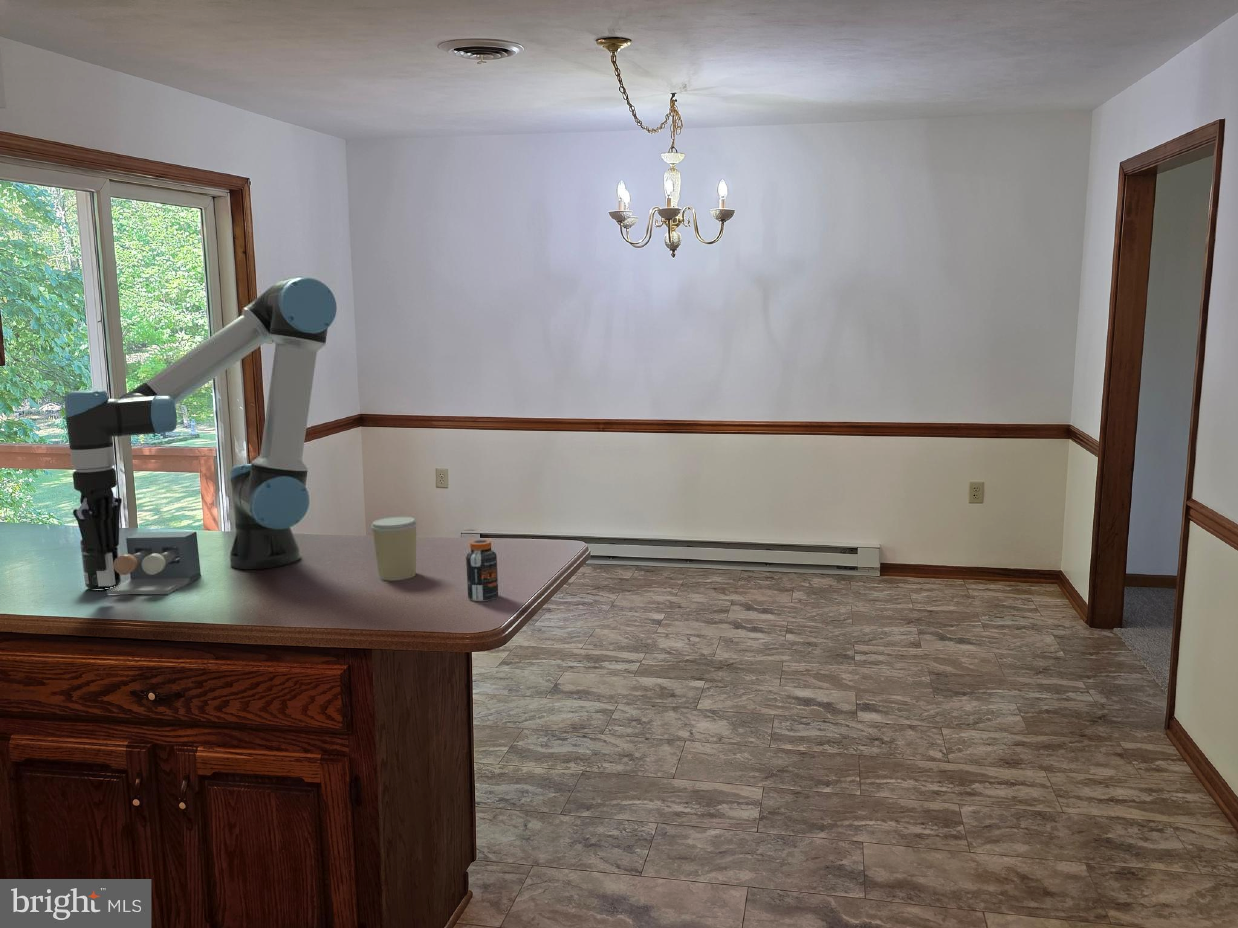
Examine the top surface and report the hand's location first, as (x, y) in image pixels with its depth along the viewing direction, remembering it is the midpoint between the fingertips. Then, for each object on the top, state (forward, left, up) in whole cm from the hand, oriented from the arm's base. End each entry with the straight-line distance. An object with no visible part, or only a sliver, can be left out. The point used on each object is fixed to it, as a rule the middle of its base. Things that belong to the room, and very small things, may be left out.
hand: (106, 584), depth 196 cm
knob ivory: (-6, -13, 0) cm, 14 cm away
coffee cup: (-54, -17, -4) cm, 57 cm away
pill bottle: (-76, 0, -4) cm, 76 cm away
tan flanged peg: (0, -13, 0) cm, 13 cm away
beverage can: (+8, -11, -4) cm, 14 cm away
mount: (-3, -12, -4) cm, 13 cm away
